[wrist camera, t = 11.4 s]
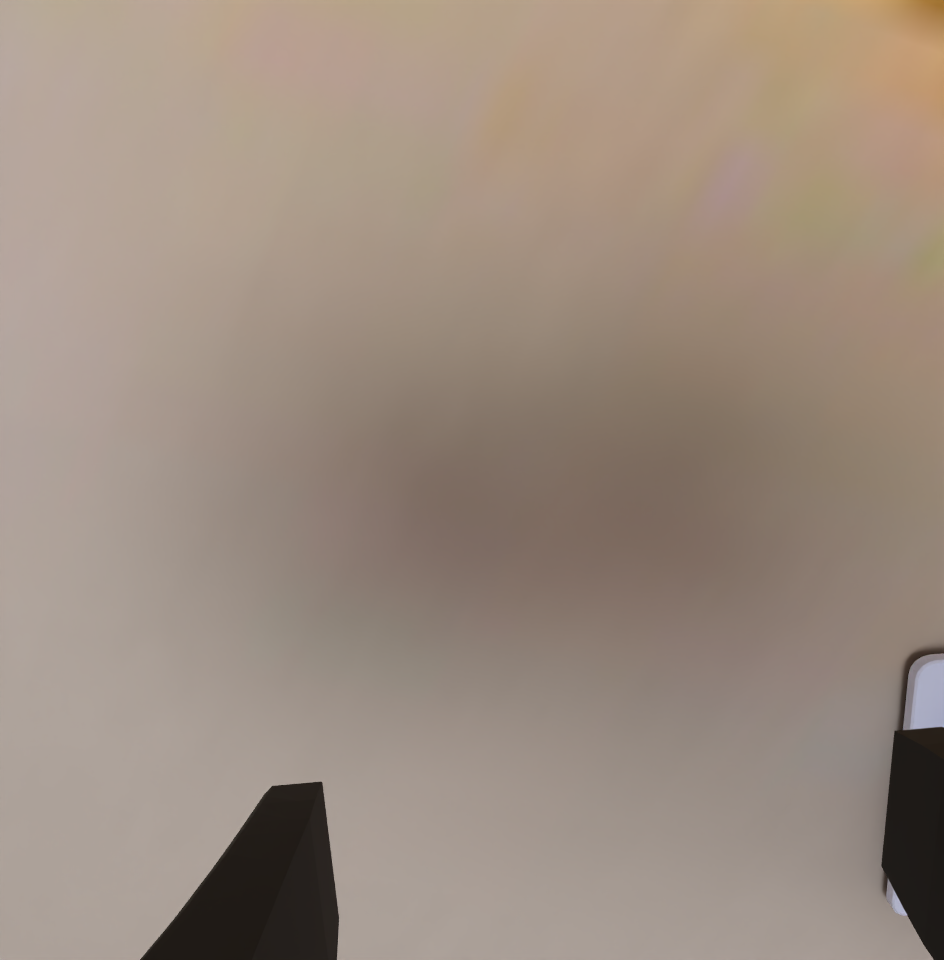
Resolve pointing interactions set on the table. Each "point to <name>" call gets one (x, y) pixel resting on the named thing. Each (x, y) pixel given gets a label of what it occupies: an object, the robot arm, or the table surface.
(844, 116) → the table surface
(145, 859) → the table surface
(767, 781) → the table surface
